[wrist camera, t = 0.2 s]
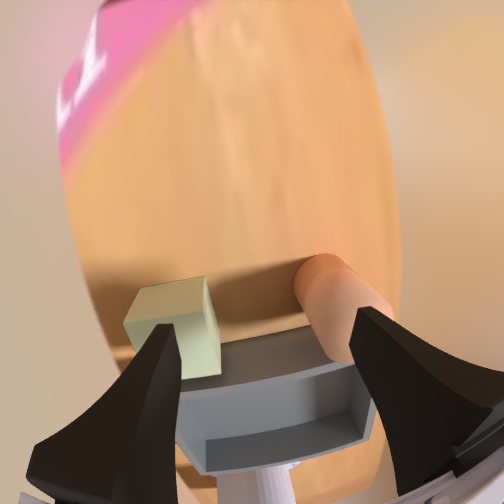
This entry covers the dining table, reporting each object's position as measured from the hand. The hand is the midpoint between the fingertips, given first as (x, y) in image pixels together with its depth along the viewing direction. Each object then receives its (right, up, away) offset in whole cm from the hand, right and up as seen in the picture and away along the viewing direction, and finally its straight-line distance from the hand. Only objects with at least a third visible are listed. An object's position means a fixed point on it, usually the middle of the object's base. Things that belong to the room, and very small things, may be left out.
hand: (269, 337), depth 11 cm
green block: (-6, -1, +11) cm, 12 cm away
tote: (+1, -10, +14) cm, 17 cm away
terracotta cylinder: (+5, +1, +11) cm, 12 cm away
